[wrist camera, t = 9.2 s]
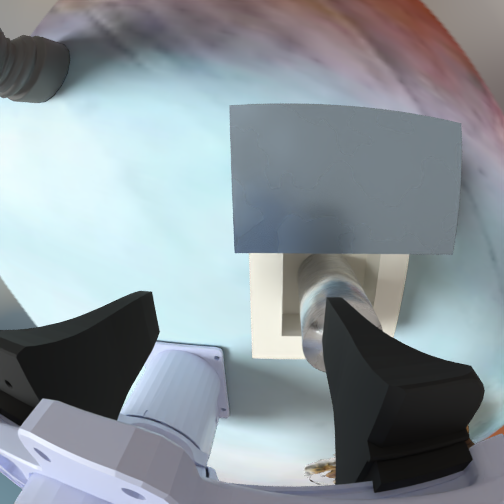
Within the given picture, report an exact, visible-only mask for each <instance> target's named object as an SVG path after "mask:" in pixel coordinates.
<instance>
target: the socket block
mask: <svg viewBox="0 0 504 504" xmlns="http://www.w3.org/2000/svg"><path fill="white" fill-rule="evenodd" d="M309 255H311V254H310V253H249V269H250V301H251V332H252V358H259V359H306V358H305V356H304V353H303V348H302V333H301V319H300V306H299V293H298V282H297V274H298V270H299V267H300V265H301V264H302V262H303V261H304V260H305V259H306V258H307V257H308V256H309ZM341 255H343V256H344V257H345V258H346V259H347V260H348V262H349V264H350V266H351V267H352V269H353V271H354V273H355V275H356V277H357V278H358V280H359V282H360V284H361V286H362V288H363V290H364V292H365V294H366V296H367V298H368V299H369V301H370V303H371V305H372V307H373V309H374V311H375V313H376V315H377V317H378V319H379V321H380V323H381V326H382V329H383V332H385V333H386V334H388V335H389V336H391V337H394V333H395V329H396V325H397V320H398V316H399V311H400V306H401V301H402V296H403V291H404V286H405V280H406V274H407V268H408V261H409V254H341Z"/></svg>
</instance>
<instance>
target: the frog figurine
mask: <svg viewBox="0 0 504 504" xmlns="http://www.w3.org/2000/svg"><path fill="white" fill-rule="evenodd" d="M333 455H334V456H336V454H333ZM304 471H305V473H304V474H305V475H304V476H307V478H309V480H310V478H311V475H313V474H318V473H321V472H323V474H322V475H321V477H325V476H327V477H329V478H336V457H334V458H330V459H329V460H319V461H317V462H314V463H310V464H307V465H306V466H305V467H304ZM310 481H311V482H314V483H316V484H318V485H328V484H327V483H320V482H317V481H312V480H310ZM333 483H334V484H335V480H334V481H333Z"/></svg>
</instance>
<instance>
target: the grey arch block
mask: <svg viewBox="0 0 504 504" xmlns="http://www.w3.org/2000/svg"><path fill="white" fill-rule="evenodd" d="M230 141H231V173H232V200H233V225H234V248H235V253H310V254H453V249H454V243H455V236H456V229H457V221H458V212H459V201H460V188H461V167H462V131H461V123H458V122H453V121H449V120H444V119H439V118H434V117H429V116H423V115H418V114H412V113H405V112H399V111H391V110H383V109H375V108H365V107H355V106H341V105H324V104H247V105H230Z"/></svg>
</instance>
